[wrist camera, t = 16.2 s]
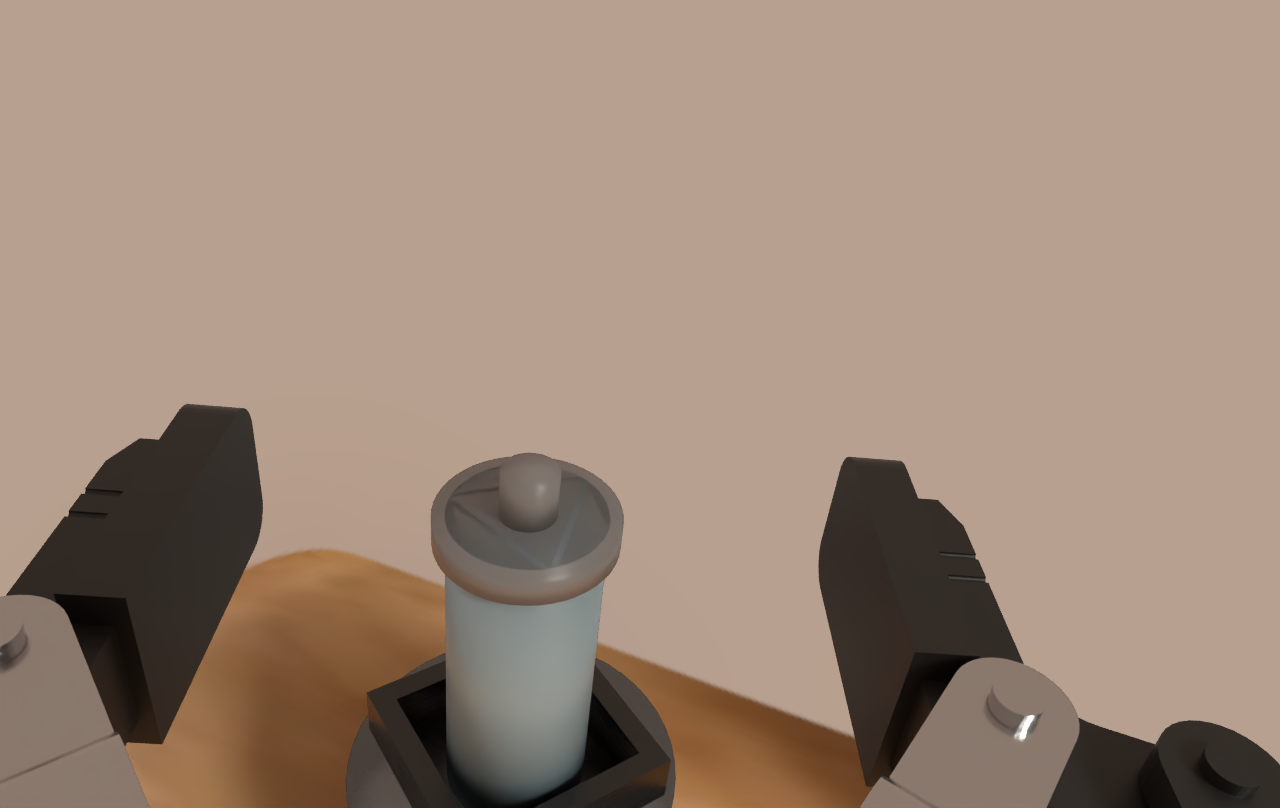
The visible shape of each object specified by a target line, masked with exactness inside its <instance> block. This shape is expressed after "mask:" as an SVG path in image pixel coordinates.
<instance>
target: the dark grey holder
mask: <svg viewBox="0 0 1280 808" xmlns="http://www.w3.org/2000/svg"><path fill="white" fill-rule="evenodd" d="M367 703H368V715H367V717H366V719H365V720H364V722H363V724H362V725H361V727H360V729H359V731H358V734H357V736H356V738H355V741H354V743H353V746H352V750H351V753H350V757H349V761H348V768H347V777H346V791H347V806H348V808H464V807H463V806H462V805H461V803H460V802H459V801H458V800H457V799H456V797H455V796H454V794H453V792H452V790H451V788H450V785H449V782H448V778H447V753H446V653H444V654H442V655H440V656H438V657H436V658H434V659H432V660H429V661H427V662H426V663H424V664H422V665H421V666H419V667H417V668H416V669H414V670H412V671H411V672H409V673H408V674H407V675H405V676H404V677H403V678H401V679H399V680H397V681H394V682H392V683H389V684H387V685H384V686H382V687H379V688H377V689H374V690H372V691H370V692H367ZM675 779H676V777H675V760H674V755H673V750H672V745H671V742H670V739H669V736H668V733H667V731H666V728H665V726H664V724H663V722H662V720H661V718H660V716H659V714H658V712H657V711H656V709H655V708H654V707H653V705H652V704H651V702H650V701H649V700H648V698H647V697H646V696H645V695H644V694H643V693H642V692H641V690H640V689H639V688H638V687H637V686H636V685H635V684H634V683H633V682H631V681H630V680H629V679H628V678H627V677H625V676H624V675H623V674H622V673H620V672H619V671H617V670H616V669H614V668H613V667H611V666H610V665H608V664H607V663H605V662H603V661H601V660H599V659H597V658H595V666H594V675H593V684H592V693H591V702H590V711H589V720H588V729H587V738H586V747H585V756H584V765H583V773H582V778H581V781H580V784H579V785H577V786H575V787H573V788H571V789H569V790H568V791H566V792H564V793H562V794H560V795H558V796H556V797H554V798H552V799H550V800H548V801H546V802H544V803H542V804H541V805H539V806H537V807H535V808H672V803H673V798H674V789H675Z"/></svg>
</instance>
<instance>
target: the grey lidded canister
mask: <svg viewBox="0 0 1280 808" xmlns="http://www.w3.org/2000/svg"><path fill="white" fill-rule="evenodd" d="M623 524H624V516H623V510H622V507H621V504H620V502H619V500H618V498H617V496H616V495H615V493H614V492H613V491H612V489H611V488H610V487H609V486H608V485H607V484H606V483H605V482H603V481H602V480H601V479H600V478H598V477H597V476H595V475H594V474H592V473H591V472H589V471H587V470H585V469H583V468H581V467H578V466H576V465H574V464H570V463H568V462H564V461H561V460H556V459H552V458H550V457H547V456H545V455H542V454H536V453H523V454H518V455H514V456H512V457H505V458H498V459H493V460H489V461H485V462H482V463H479V464H476V465H474V466H472V467H469V468H467V469H465V470H463V471H462V472H460V473H459V474H457V475H455V476H454V477H453V478H452V479H450V480H449V481H448V482H447V483H446V484H445V485H444V486H443V487H442V488H441V490H440V491H439V493H438V494H437V496H436V498H435V500H434V502H433V506H432V509H431V545H432V551H433V555H434V558H435V560H436V562H437V564H438V566H439V567H440V569H441V570H442V571H443V572H444V574H445V628H446V753H447V778H448V782H449V785H450V788H451V790H452V792H453V794H454V796H455V797H456V799H457V800H458V801H459V802H460V803H461V805H462V806H463V807H464V808H535V807H537V806H539V805H541V804H542V803H544V802H546V801H548V800H550V799H552V798H554V797H556V796H558V795H560V794H562V793H564V792H566V791H568V790H569V789H571V788H573V787H575V786H577V785H579V784H580V781H581V778H582V773H583V765H584V756H585V747H586V738H587V729H588V720H589V711H590V702H591V693H592V684H593V675H594V666H595V657H596V648H597V639H598V630H599V621H600V612H601V603H602V594H603V585H604V579H605V578H606V577H607V576H608V575H609V574H610V573H611V571H612V570H613V568H614V566H615V565H616V562H617V560H618V558H619V554H620V549H621V540H622V533H623Z"/></svg>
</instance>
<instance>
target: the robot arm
mask: <svg viewBox="0 0 1280 808" xmlns="http://www.w3.org/2000/svg"><path fill="white" fill-rule="evenodd" d="M262 502H263V501H262V493H261V485H260V479H259V470H258V463H257V456H256V448H255V441H254V434H253V426H252V420H251V417H250V414H249V412H248V411H247V410H246V409H244V408H232V407H219V406H207V405H194V404H186V405H184V406H183V407H182V408H181V409H180V410H179V412H178V413H177V414H176V416H175V417H174V419H173V420H172V422H171V423H170V425H169V426H168V427H167V429H166V430H165V432H164V433H163V435H162V436H161V438H160V439H159V440H155V439H138V440H137V441H135V442H134V443H132V444H131V445H129V446H128V447H126V448H125V449H123V450H122V451H120V452H119V453H117V454H116V455H114V456H113V457H111V458H110V459H108V460H106V461H105V463H104V464H103V465H102V467H101V468H100V469H99V471H98V472H97V473H96V475H95V476H94V477H93V479H92V480H91V481H90V483H89V484H88V486H87V487H86V491H85V494H81V495H80V496H79V498H78V499H77V500H76V502H75V503H74V505H73V506H72V507H71V508H70V510H69V516H68V517H64V518H63V519H62V521H61V522H60V523H59V525H58V526H57V528H56V529H55V530H54V531H53V533H52V534H51V535H50V537H49V538H48V539H47V541H46V542H45V543H44V545H43V546H42V548H41V549H40V550H39V552H38V553H37V554H36V556H35V557H34V558H33V560H32V561H31V562H30V564H29V565H28V566H27V568H26V569H25V570H24V572H23V573H22V574H21V576H20V577H19V579H18V580H17V581H16V583H15V584H14V585H13V587H12V588H11V589H10V591H9V592H8V593H7V595H6V596H3V597H0V808H149V805H148V803H147V800H146V798H145V795H144V793H143V790H142V788H141V786H140V783H139V781H138V778H137V776H136V773H135V771H134V768H133V766H132V763H131V761H130V758H129V756H128V753H127V751H126V748H125V745H126V743H127V742H131V743H149V744H162V743H163V741H164V739H165V737H166V735H167V733H168V731H169V729H170V727H171V724H172V722H173V720H174V718H175V716H176V714H177V712H178V710H179V707H180V705H181V703H182V701H183V699H184V697H185V695H186V693H187V690H188V688H189V686H190V684H191V682H192V680H193V678H194V676H195V674H196V671H197V669H198V667H199V665H200V663H201V661H202V659H203V657H204V654H205V652H206V650H207V648H208V646H209V644H210V642H211V640H212V638H213V635H214V633H215V631H216V629H217V627H218V625H219V623H220V621H221V618H222V616H223V614H224V612H225V610H226V608H227V606H228V604H229V601H230V599H231V597H232V595H233V593H234V591H235V589H236V587H237V585H238V582H239V580H240V578H241V576H242V574H243V572H244V570H245V568H246V565H247V563H248V561H249V559H250V557H251V555H252V553H253V551H254V548H255V546H256V544H257V541H258V537H259V533H260V529H261V523H262V513H263V503H262ZM975 555H976V554H975V551H974V549H973V547H972V545H971V542H970V540H969V537H968V535H967V533H966V531H965V528H964V526H963V525H962V524H961V523H960V522H959V521H958V520H957V519H956V518H955V517H954V516H953V515H952V514H951V513H950V512H949V511H948V510H947V509H946V508H945V507H944V506H943V505H942V504H941V503H940V502H939V501H938V500H931V499H918V497H917V494H916V492H915V489H914V487H913V484H912V482H911V479H910V477H909V474H908V472H907V469H906V467H905V465H904V463H903V462H902V461H896V460H883V459H869V458H856V457H847V458H846V459H845V460H844V462H843V464H842V466H841V470H840V472H839V477H838V480H837V484H836V488H835V491H834V495H833V499H832V503H831V506H830V510H829V514H828V518H827V521H826V525H825V529H824V533H823V537H822V540H821V545H820V552H819V582H820V588H821V592H822V597H823V601H824V606H825V610H826V614H827V619H828V623H829V627H830V631H831V635H832V640H833V645H834V649H835V653H836V658H837V662H838V666H839V671H840V675H841V679H842V683H843V687H844V692H845V696H846V701H847V705H848V709H849V714H850V718H851V722H852V726H853V731H854V735H855V740H856V744H857V748H858V753H859V757H860V761H861V766H862V770H863V774H864V779H865V783H866V786H870V787H873V788H872V790H871V791H870V793H869V794H868V796H867V797H866V799H865V800H864V802H863V804H862V805H861V807H860V808H1280V765H1279V763H1278V762H1277V761H1276V760H1275V759H1274V758H1273V757H1272V756H1270V755H1269V754H1268V753H1267V752H1266V751H1265V750H1263V749H1262V748H1261V747H1259V746H1258V745H1257V744H1255V743H1254V742H1252V741H1251V740H1249V739H1248V738H1246V737H1244V736H1242V735H1241V734H1239V733H1237V732H1235V731H1233V730H1230V729H1227V728H1225V727H1223V726H1220V725H1216V724H1213V723H1208V722H1203V721H1190V720H1189V721H1182V722H1178V723H1175V724H1172V725H1171V726H1169V727H1168V728H1166V729H1165V730H1164V732H1163V733H1162V734H1161V736H1160V737H1159V739H1158V741H1157V742H1156V744H1152V743H1149V742H1146V741H1143V740H1140V739H1137V738H1134V737H1130V736H1127V735H1124V734H1121V733H1118V732H1115V731H1112V730H1109V729H1106V728H1102V727H1099V726H1097V725H1094V724H1091V723H1089V722H1086V721H1084V720H1082V719H1080V718H1078V715H1077V713H1076V710H1075V708H1074V706H1073V704H1072V703H1071V701H1070V700H1069V698H1068V697H1067V696H1066V694H1065V693H1064V692H1063V691H1062V690H1061V689H1060V688H1059V687H1058V686H1057V685H1056V684H1055V683H1054V682H1053V681H1051V680H1050V679H1048V678H1047V677H1046V676H1045V675H1043V674H1042V673H1040V672H1038V671H1036V670H1035V669H1033V668H1031V667H1028V666H1026V665H1024V664H1023V661H1022V659H1021V657H1020V655H1019V652H1018V650H1017V648H1016V645H1015V643H1014V641H1013V639H1012V636H1011V634H1010V632H1009V629H1008V627H1007V625H1006V622H1005V620H1004V618H1003V615H1002V613H1001V611H1000V609H999V606H998V604H997V602H996V599H995V597H994V595H993V593H992V590H991V588H990V586H989V583H986V582H985V578H986V577H985V574H984V572H983V570H982V567H981V565H980V563H979V561H978V560H976V559H975Z"/></svg>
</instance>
